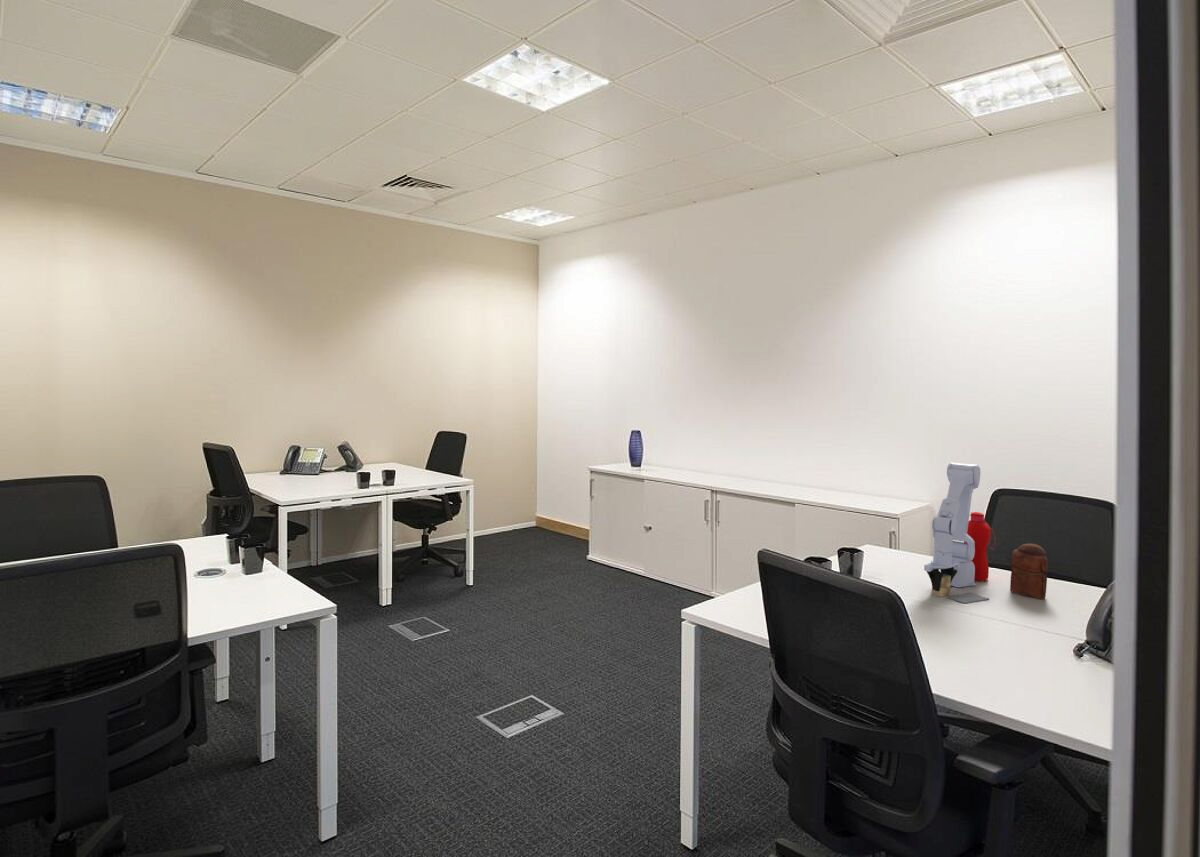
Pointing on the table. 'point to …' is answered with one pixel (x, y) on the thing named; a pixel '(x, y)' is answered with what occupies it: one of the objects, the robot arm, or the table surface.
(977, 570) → the water bottle
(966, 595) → the slate mat
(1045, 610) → the table surface
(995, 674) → the table surface
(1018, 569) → the brown upright rounded block
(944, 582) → the oak block
